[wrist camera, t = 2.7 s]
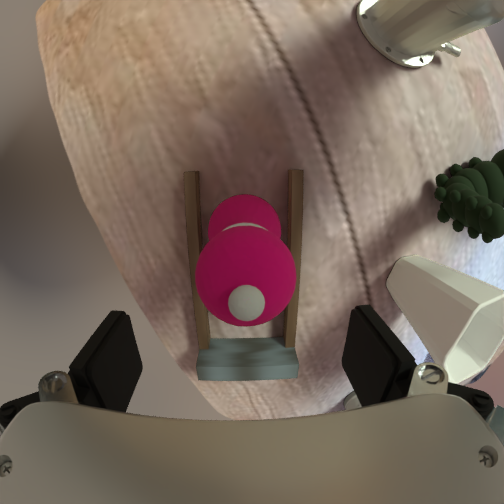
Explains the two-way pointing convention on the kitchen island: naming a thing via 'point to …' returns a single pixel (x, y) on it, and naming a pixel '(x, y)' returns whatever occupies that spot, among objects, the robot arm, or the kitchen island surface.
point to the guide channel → (245, 349)
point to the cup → (449, 313)
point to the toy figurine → (474, 197)
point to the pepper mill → (245, 263)
